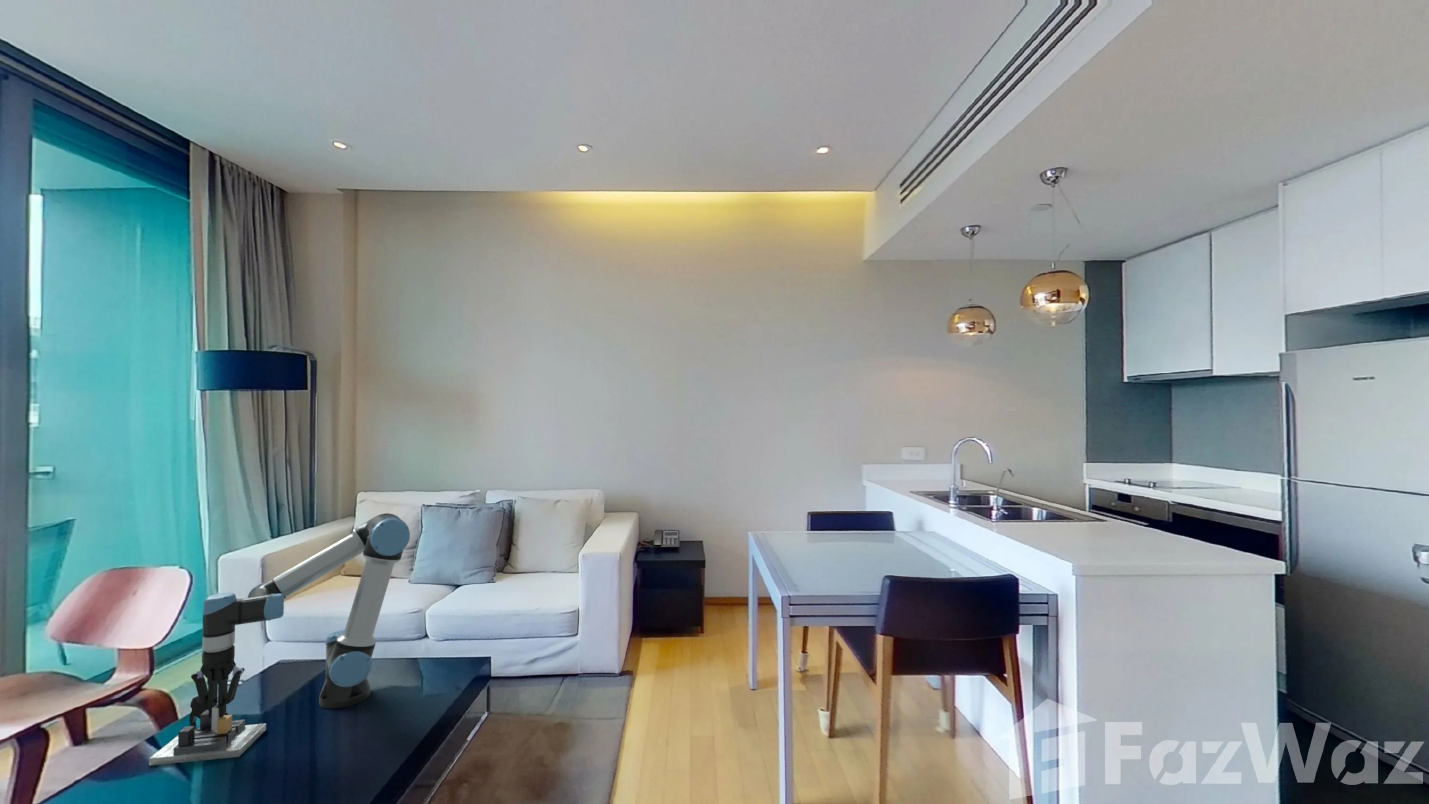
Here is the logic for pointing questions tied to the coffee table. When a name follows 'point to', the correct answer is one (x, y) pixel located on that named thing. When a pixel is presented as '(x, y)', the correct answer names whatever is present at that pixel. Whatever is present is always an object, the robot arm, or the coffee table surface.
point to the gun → (197, 710)
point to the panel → (210, 754)
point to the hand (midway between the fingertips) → (217, 727)
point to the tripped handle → (224, 724)
